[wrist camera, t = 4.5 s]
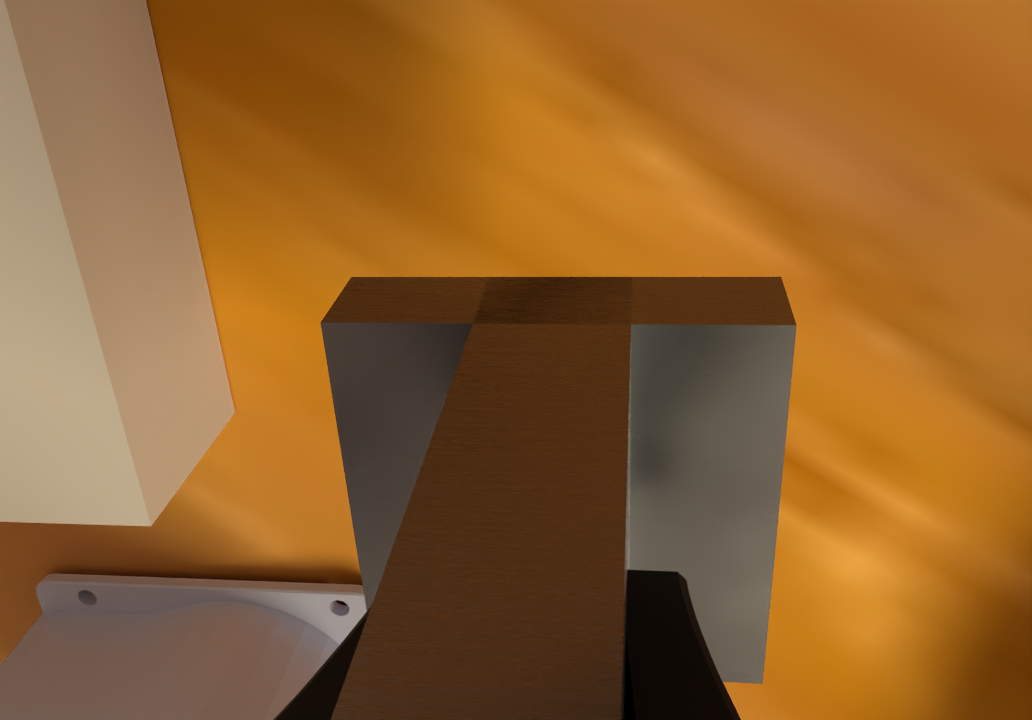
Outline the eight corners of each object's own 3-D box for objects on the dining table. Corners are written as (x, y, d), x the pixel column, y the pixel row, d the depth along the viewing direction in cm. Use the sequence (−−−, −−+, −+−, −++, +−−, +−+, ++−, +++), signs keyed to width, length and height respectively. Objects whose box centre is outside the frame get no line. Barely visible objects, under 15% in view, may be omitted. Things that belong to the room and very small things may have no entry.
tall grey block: (396, 598, 17) (120, 1438, 8) (351, 277, 14) (-155, 1022, 5) (752, 614, 16) (886, 1560, 7) (780, 276, 13) (1062, 1154, 4)
